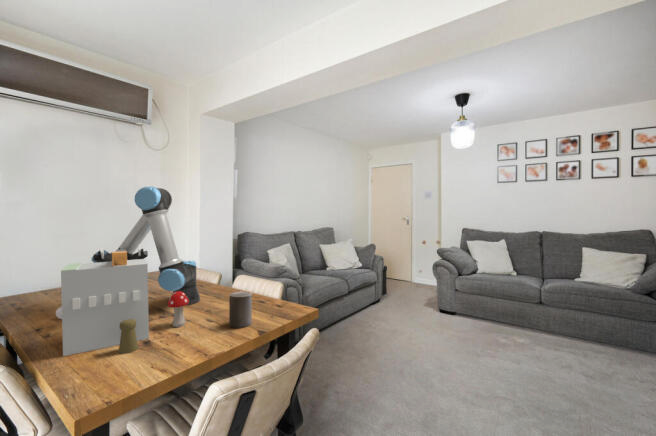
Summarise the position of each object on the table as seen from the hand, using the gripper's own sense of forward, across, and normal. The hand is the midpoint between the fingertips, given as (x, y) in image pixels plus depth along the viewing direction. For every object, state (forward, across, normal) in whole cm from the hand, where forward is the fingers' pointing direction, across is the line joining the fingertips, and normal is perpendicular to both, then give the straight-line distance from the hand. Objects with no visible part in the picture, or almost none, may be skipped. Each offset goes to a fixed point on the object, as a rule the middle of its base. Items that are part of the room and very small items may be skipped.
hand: (121, 248), depth 131 cm
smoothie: (-50, -21, +9) cm, 54 cm away
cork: (+5, +2, +44) cm, 44 cm away
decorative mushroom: (-9, +21, +36) cm, 42 cm away
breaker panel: (-8, -4, +36) cm, 37 cm away
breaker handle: (+3, 0, +7) cm, 8 cm away
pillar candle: (+4, +44, +43) cm, 62 cm away
